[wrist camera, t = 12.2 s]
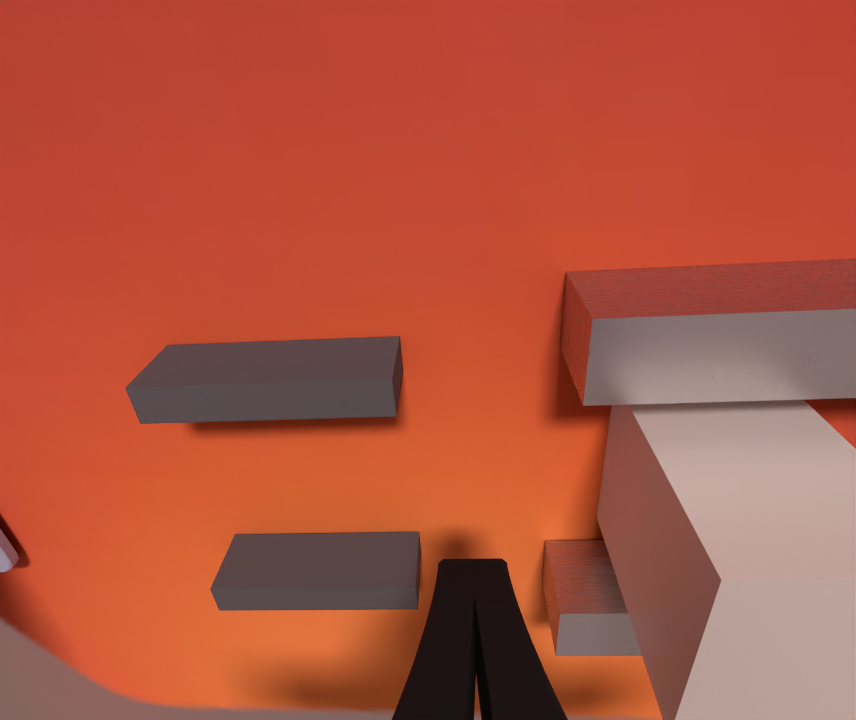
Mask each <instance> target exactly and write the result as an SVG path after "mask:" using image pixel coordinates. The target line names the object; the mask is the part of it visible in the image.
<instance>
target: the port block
mask: <svg viewBox="0 0 856 720" xmlns="http://www.w3.org/2000/svg"><path fill="white" fill-rule="evenodd" d="M560 348H561V351H562V354H563V356H564V359H565V361H566V364H567V366H568V369H569V371H570V374H571V377H572V379H573V382H574V384H575V387H576V389H577V392H578V394H579V397H580V400H581V402H582V405H583V406H597V405H631V404H665V403H700V402H734V401H768V400H803V399H837V398H856V259H850V260H828V261H806V262H783V263H761V264H738V265H716V266H693V267H671V268H649V269H626V270H604V271H581V272H566V282H565V295H564V308H563V321H562V334H561V346H560ZM542 583H543V589H544V594H545V600H546V606H547V611H548V617H549V622H550V628H551V633H552V639H553V644H554V650H555V655H556V656H642V654H641V651H640V648H639V645H638V642H637V638H636V635H635V632H634V629H633V626H632V623H631V620H630V617H629V614H628V611H627V608H626V605H625V602H624V599H623V596H622V593H621V590H620V587H619V584H618V581H617V578H616V574H615V571H614V568H613V565H612V562H611V559H610V556H609V553H608V550H607V547H606V544H605V541H604V540H573V541H545V552H544V565H543V578H542Z"/></svg>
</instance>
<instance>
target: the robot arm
mask: <svg viewBox="0 0 856 720" xmlns="http://www.w3.org/2000/svg"><path fill="white" fill-rule="evenodd" d="M18 559H19V557H18V554H17V552H16V551H15V549H14V548H13V546H12V545H11V543H10V542H9V540H8V539H7V538H6V536H5V535H4V533H3V532H2V530H1V529H0V572H6V571H9V570H11V569H12V568H13V566H14V565H15V564H16V563H17V562H18ZM476 676H477V685H478V693H479V702H480V710H481V719H482V720H568V719H567V717H566V715H565V713H564V711H563V709H562V707H561V705H560V703H559V701H558V699H557V697H556V695H555V693H554V691H553V688H552V686H551V684H550V682H549V680H548V678H547V675H546V673H545V671H544V669H543V666H542V664H541V662H540V659H539V657H538V654H537V652H536V650H535V647H534V645H533V643H532V640H531V638H530V635H529V633H528V630H527V628H526V625H525V623H524V620H523V617H522V614H521V611H520V609H519V606H518V603H517V600H516V597H515V594H514V590H513V587H512V584H511V580H510V576H509V572H508V567H507V562H505V561H504V560H503V559H443V560H442V561H440V562H439V564H438V573H437V579H436V585H435V590H434V595H433V599H432V603H431V607H430V611H429V614H428V618H427V622H426V625H425V629H424V632H423V635H422V638H421V641H420V644H419V647H418V650H417V654H416V657H415V660H414V663H413V666H412V668H411V671H410V674H409V676H408V679H407V682H406V684H405V687H404V690H403V692H402V695H401V697H400V700H399V703H398V705H397V708H396V711H395V713H394V715H393V718H392V720H474V704H475V680H476Z"/></svg>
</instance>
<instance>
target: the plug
mask: <svg viewBox="0 0 856 720" xmlns="http://www.w3.org/2000/svg"><path fill="white" fill-rule="evenodd" d="M597 520H598V523H599V526H600V529H601V532H602V535H603V538H604V541H605V544H606V547H607V550H608V553H609V556H610V559H611V562H612V565H613V568H614V571H615V574H616V578H617V581H618V584H619V587H620V590H621V593H622V596H623V599H624V602H625V605H626V608H627V611H628V614H629V617H630V620H631V623H632V626H633V629H634V632H635V635H636V638H637V642H638V645H639V648H640V651H641V654H642V657H643V660H644V663H645V666H646V669H647V672H648V675H649V678H650V681H651V684H652V687H653V690H654V693H655V696H656V699H657V702H658V705H659V709H660V712H661V715H662V718H663V720H856V449H855V448H854V447H853V446H852V445H851V444H850V443H849V442H848V441H847V440H846V439H845V438H843V437H842V436H841V435H840V434H839V433H838V432H837V431H836V430H835V429H834V428H833V427H832V426H831V425H830V424H829V423H828V422H827V421H825V420H824V419H823V418H822V417H821V416H820V415H819V414H818V413H817V412H816V411H815V410H814V409H813V408H812V407H811V406H810V405H809V404H808V403H806V402H805V401H804V400H768V401H734V402H700V403H665V404H631V405H612V407H611V414H610V421H609V429H608V436H607V444H606V451H605V458H604V466H603V473H602V480H601V488H600V495H599V503H598V510H597Z"/></svg>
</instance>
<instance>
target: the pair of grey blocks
mask: <svg viewBox="0 0 856 720" xmlns="http://www.w3.org/2000/svg"><path fill="white" fill-rule="evenodd" d="M402 374H403V365H402V355H401V345H400V336H397V337H370V338H344V339H318V340H291V341H265V342H239V343H212V344H186V345H167V346H166V347H165V348H164V349H163V350H162V351H161V352H160V353H159V354H158V355H157V356H156V357H155V358H154V359H153V360H152V361H151V362H150V363H149V364H148V365H147V366H146V367H145V368H144V369H143V370H142V371H141V372H140V373H139V374H138V375H137V377H136V378H135V379H134V380H133V381H132V382H131V383H130V384H129V385H128V386H127V387H126V391H127V393H128V396H129V398H130V400H131V403H132V405H133V407H134V410H135V412H136V414H137V417H138V419H139V422H140V424H150V423H185V422H220V421H255V420H290V419H325V418H360V417H395V416H396V415H397V408H398V401H399V395H400V388H401V381H402ZM420 564H421V547H420V537H419V532H371V533H304V534H237V535H235V536H234V538H233V540H232V542H231V544H230V547H229V549H228V551H227V553H226V556H225V558H224V560H223V562H222V564H221V567H220V569H219V571H218V573H217V575H216V578H215V580H214V582H213V584H212V587H211V592H212V594H213V597H214V599H215V601H216V604H217V606H218V608H219V610H379V609H418V600H419V582H420Z"/></svg>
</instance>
